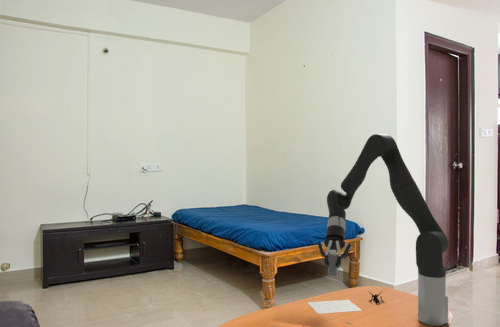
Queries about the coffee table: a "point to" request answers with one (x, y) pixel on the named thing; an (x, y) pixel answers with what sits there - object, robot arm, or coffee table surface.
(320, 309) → the dock plate
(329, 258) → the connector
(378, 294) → the creature
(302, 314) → the coffee table surface
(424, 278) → the robot arm
